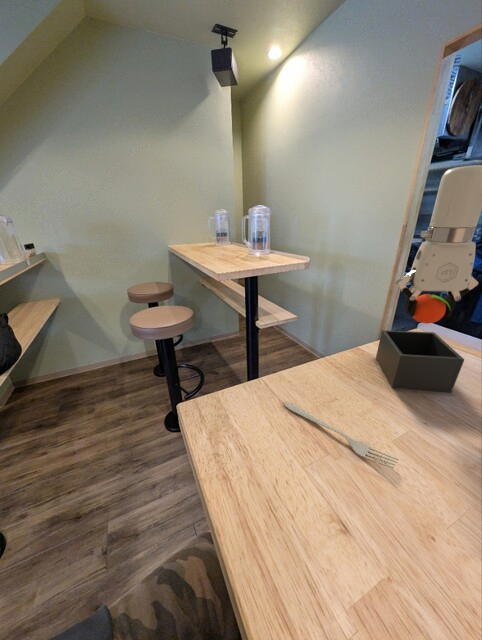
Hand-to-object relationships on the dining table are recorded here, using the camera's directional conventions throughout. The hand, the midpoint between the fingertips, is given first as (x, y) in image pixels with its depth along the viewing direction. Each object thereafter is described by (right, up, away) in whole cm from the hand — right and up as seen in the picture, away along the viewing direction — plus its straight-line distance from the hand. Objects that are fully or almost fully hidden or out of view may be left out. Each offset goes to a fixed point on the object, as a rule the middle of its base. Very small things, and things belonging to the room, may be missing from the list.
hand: (426, 313), depth 59 cm
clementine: (0, -2, +1) cm, 3 cm away
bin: (+3, -16, +10) cm, 19 cm away
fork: (-25, -25, -6) cm, 36 cm away
